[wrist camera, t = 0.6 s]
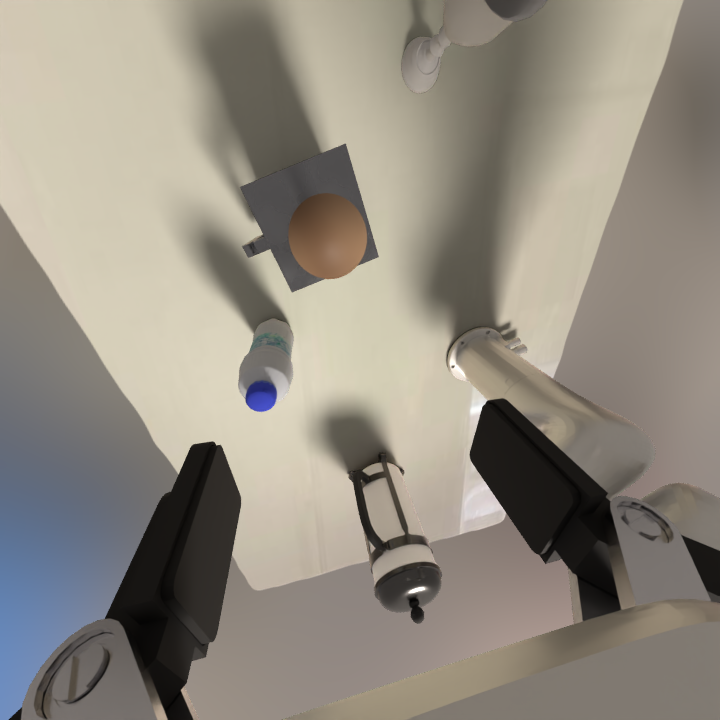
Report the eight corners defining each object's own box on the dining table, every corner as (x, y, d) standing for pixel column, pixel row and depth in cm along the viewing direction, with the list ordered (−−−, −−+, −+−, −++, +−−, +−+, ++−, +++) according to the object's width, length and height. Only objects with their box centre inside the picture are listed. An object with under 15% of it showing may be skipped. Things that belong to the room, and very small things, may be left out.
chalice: (457, 52, 34) (589, -79, 18) (429, 115, 36) (524, 46, 21) (410, 8, 31) (517, -188, 16) (383, 79, 34) (453, -30, 18)
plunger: (331, 173, 28) (372, 124, 12) (354, 243, 32) (410, 279, 16) (267, 199, 28) (222, 186, 12) (298, 266, 32) (295, 325, 16)
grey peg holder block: (328, 169, 37) (345, 143, 23) (351, 240, 42) (378, 256, 28) (243, 203, 37) (207, 200, 23) (277, 270, 42) (265, 303, 28)
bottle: (257, 350, 48) (233, 429, 31) (252, 314, 45) (222, 380, 28) (296, 349, 49) (293, 424, 32) (293, 314, 46) (290, 376, 29)
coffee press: (412, 449, 69) (479, 592, 43) (393, 490, 76) (441, 635, 50) (347, 446, 64) (378, 606, 38) (333, 490, 71) (352, 651, 45)
